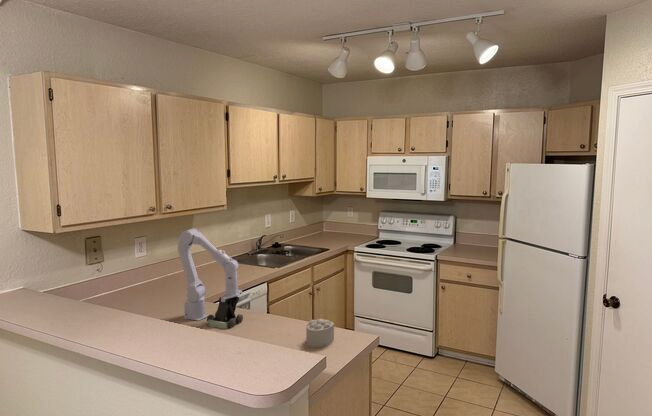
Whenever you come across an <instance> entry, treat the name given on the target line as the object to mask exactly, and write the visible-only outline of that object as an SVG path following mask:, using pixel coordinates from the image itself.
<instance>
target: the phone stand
mask: <svg viewBox="0 0 652 416" xmlns="http://www.w3.org/2000/svg"><path fill="white" fill-rule="evenodd" d="M222 297H223V296H220V297H218V307H217V310H216V311H217V313H216V312H215V313H216V317H215V316H214V317H215V321H220V322H225V323H227V322H229V320H230V319H231V318H233V319H234V318H236V317H237V315H236V313H235V312H234V311H233V308H232V305H231V299H226V300H225V302H221V298H222Z"/></svg>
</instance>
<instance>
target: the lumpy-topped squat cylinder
mask: <svg viewBox="0 0 652 416" xmlns="http://www.w3.org/2000/svg"><path fill="white" fill-rule="evenodd" d="M305 329H306V333H305V335H306V336H305V337H306V338H305V339H306V345H307V346H309V347H311V348H321V347H326V346H329V345H330V344H332V342H334V340H335V323H334V322H333V321H330V320H329V319H324V318H318V319H310V320H309V322H308V323H307V325H306V328H305Z"/></svg>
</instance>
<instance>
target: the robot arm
mask: <svg viewBox="0 0 652 416" xmlns="http://www.w3.org/2000/svg"><path fill="white" fill-rule="evenodd" d="M177 238H178V244H177V253H178V256H179V259H180V261H181V265H182V268H183V271H184V274H185V277H186V281H187V285H186V290H187V291H186V297H187V299H186V300H185V302H184V304H183V305H184V309H183V310H184V316H183V319H185V320H192V321H197V322H199V321H201V320H204V319H205V318H207V317H208V315H209V314H208V313H207V314H205V313H206V309H205V307H206V306H205V304H206V302H205V301H206V299H205V295H206V293H207V287H206V286H205V285H204V284H203V281H202V280H201V279H199V278H200V277H199V275H198V272H197V269H196V266H195V263H194V259H193V256H192V252H191V250H190V249H191V248H192V246H193V245H198V246H199V245H200V247H201V248H204V250H206V252H208V253H210V255H211V256H212V259H213V260H214V262H216V263H217V264H219V266H221V267H222V268H223V269H222V270H223V272H224V273H225V294H224V295H223V296H221V297H222V298H221V302H225V300H226V299H231V305H232V308H233V311H234V313H235V312H236V307H237V304H238V302H239V300H240V295H242V294H243V290H242V289H239V286H238V285H239V283H238V282H239V281H238V269H239V267H240V264H239V262H238V261H237V260H236V259H233V258H232V257H230V256H229V255H228V254H226V251H225V250H223V249H217V248H216V246H214V245H213V244H212V243H211V241H209V240H208V238H207V237H205V236H204V234H203V233H202V232H201V231H199V230H198V228H194V227H192V228H190V229H187V230H184V231H183V230H182V232H181V233H180V234H179V236H178V237H177Z"/></svg>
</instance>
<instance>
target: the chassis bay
mask: <svg viewBox="0 0 652 416" xmlns="http://www.w3.org/2000/svg"><path fill="white" fill-rule="evenodd" d="M216 313H217V310H216V311H215V314H214V315H213V314H207V315H208V316H207V317H206V322H207V326H209V327H214V328H219V329H226V330H227V329H230V328H234V327H235V326H236V324H242V322H243V320H244V315H243V314H240V313H239V314H237V315H236V318H234V319H233V318H231V319H230V320H229V322H227V323H225V322H220V321H215V317H216Z"/></svg>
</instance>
